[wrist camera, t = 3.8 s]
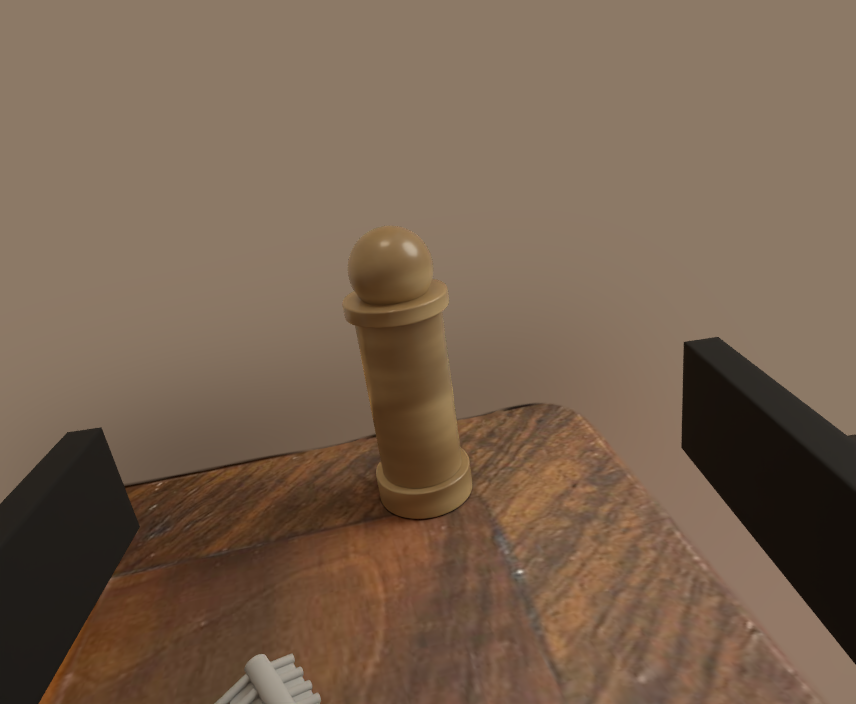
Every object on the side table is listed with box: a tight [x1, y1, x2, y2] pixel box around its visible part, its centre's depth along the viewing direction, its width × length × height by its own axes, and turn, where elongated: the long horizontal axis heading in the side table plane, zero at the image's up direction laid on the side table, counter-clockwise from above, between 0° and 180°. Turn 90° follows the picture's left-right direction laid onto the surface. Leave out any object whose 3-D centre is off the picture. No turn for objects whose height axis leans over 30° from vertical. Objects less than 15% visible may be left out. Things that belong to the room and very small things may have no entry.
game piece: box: [342, 226, 472, 519], centre depth 24 cm, size 4×4×11 cm
